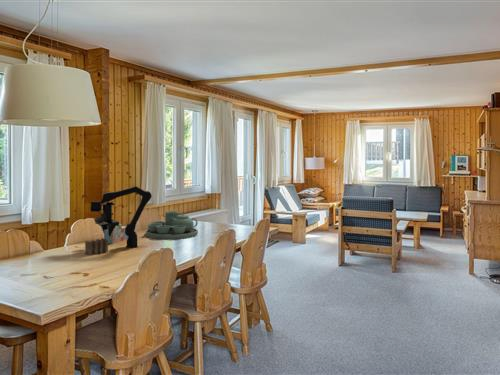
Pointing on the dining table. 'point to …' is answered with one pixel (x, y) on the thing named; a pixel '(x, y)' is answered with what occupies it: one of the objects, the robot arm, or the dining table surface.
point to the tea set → (172, 227)
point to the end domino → (107, 236)
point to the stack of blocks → (118, 234)
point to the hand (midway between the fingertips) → (107, 235)
